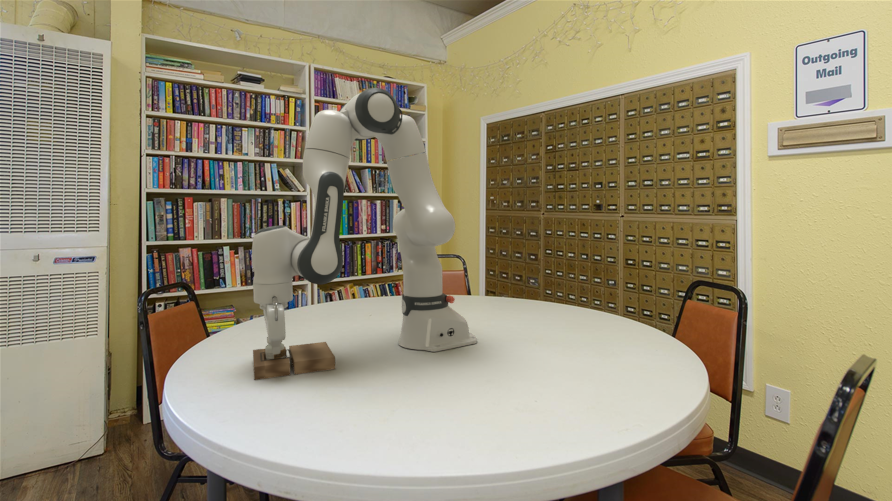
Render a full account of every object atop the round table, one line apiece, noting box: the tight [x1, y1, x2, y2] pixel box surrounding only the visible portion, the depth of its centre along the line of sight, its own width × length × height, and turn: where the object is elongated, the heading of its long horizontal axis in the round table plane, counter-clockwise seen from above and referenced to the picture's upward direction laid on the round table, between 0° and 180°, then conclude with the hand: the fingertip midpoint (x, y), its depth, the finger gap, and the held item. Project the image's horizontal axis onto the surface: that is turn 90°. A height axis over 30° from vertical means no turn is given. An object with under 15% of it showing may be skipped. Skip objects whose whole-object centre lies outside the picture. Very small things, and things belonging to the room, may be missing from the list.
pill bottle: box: [264, 336, 286, 360], centre depth 114 cm, size 4×4×8 cm
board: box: [252, 341, 336, 381], centre depth 116 cm, size 18×14×3 cm
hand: (275, 350), depth 114 cm, fingers open, 4 cm apart
